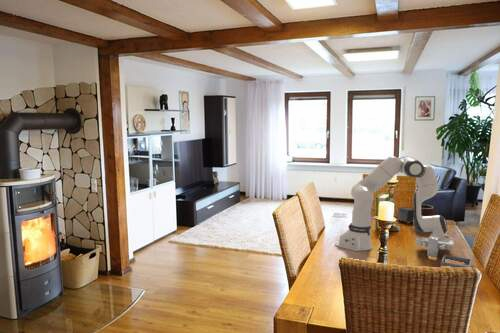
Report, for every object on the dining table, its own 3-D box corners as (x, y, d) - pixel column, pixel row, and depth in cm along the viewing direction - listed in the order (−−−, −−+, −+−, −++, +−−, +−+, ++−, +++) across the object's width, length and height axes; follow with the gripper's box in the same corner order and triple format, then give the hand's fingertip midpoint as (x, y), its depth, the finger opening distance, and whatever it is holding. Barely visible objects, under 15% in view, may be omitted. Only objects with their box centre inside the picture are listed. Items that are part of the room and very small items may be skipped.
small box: (413, 222, 303) (414, 209, 302) (407, 223, 301) (407, 210, 299) (403, 219, 313) (404, 206, 312) (397, 220, 310) (397, 207, 309)
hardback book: (385, 230, 282) (386, 197, 279) (375, 229, 286) (376, 196, 283) (392, 225, 297) (393, 193, 294) (382, 223, 301) (383, 192, 298)
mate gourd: (422, 226, 293) (423, 199, 291) (437, 231, 280) (439, 203, 278) (406, 228, 287) (407, 201, 285) (421, 233, 274) (422, 205, 272)
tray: (440, 268, 210) (440, 261, 210) (443, 260, 222) (444, 254, 221) (470, 273, 203) (470, 267, 202) (472, 265, 214) (472, 259, 214)
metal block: (426, 258, 224) (427, 238, 223) (428, 256, 228) (429, 236, 227) (436, 260, 222) (437, 239, 220) (437, 258, 226) (438, 237, 224)
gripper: (418, 232, 240) (413, 238, 229) (455, 238, 229) (452, 244, 218) (417, 242, 241) (413, 249, 230) (454, 248, 230) (452, 255, 218)
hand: (432, 246), depth 224 cm, fingers open, 7 cm apart
